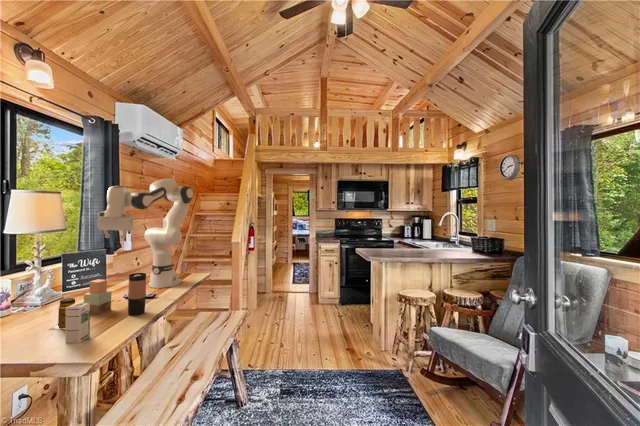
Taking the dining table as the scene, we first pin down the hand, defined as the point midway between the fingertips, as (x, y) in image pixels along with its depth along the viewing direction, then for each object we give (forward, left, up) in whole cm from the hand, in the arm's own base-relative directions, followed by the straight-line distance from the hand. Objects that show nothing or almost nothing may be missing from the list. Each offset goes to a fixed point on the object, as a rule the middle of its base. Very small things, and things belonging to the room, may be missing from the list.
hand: (115, 238), depth 173 cm
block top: (+20, +8, -30) cm, 37 cm away
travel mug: (+18, +28, -35) cm, 48 cm away
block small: (+20, +8, -25) cm, 33 cm away
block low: (+20, +8, -35) cm, 41 cm away
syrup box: (+49, +26, -35) cm, 65 cm away
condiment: (+38, +9, -35) cm, 53 cm away
